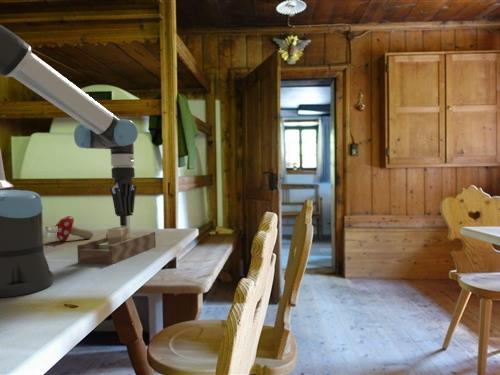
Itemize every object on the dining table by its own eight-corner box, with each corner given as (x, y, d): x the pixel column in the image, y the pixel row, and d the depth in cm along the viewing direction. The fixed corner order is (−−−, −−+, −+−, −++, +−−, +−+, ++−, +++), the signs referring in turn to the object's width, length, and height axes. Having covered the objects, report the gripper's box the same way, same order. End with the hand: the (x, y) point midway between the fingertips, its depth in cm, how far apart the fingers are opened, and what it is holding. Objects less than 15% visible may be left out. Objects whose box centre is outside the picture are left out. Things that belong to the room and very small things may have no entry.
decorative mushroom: (98, 217, 162) (62, 208, 155) (96, 234, 154) (57, 224, 146) (89, 236, 167) (53, 227, 159) (87, 253, 158) (49, 244, 150)
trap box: (112, 264, 111) (111, 246, 111) (78, 262, 114) (77, 245, 114) (155, 246, 138) (155, 232, 137) (126, 246, 140) (126, 231, 140)
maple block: (121, 244, 122) (120, 229, 122) (108, 244, 123) (107, 229, 123) (129, 241, 127) (129, 227, 127) (116, 241, 128) (116, 226, 128)
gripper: (121, 166, 121) (124, 238, 122) (142, 166, 133) (144, 231, 134) (101, 167, 123) (104, 237, 123) (124, 167, 135) (126, 231, 136)
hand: (125, 234), depth 129 cm, fingers closed
